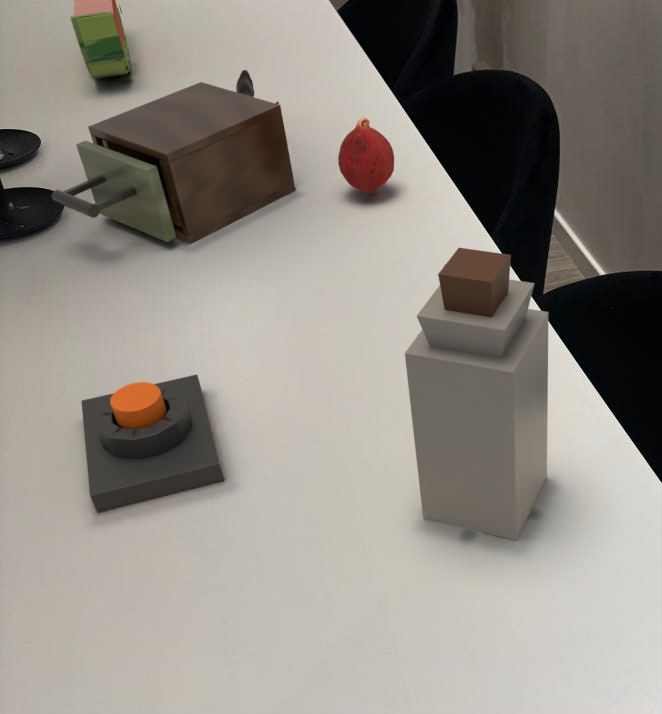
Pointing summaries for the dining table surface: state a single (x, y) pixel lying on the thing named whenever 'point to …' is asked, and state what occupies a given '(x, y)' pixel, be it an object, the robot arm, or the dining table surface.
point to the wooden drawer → (125, 189)
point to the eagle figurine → (246, 84)
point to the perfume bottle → (480, 397)
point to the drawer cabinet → (209, 152)
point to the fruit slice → (101, 37)
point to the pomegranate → (366, 158)
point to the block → (150, 449)
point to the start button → (138, 405)
